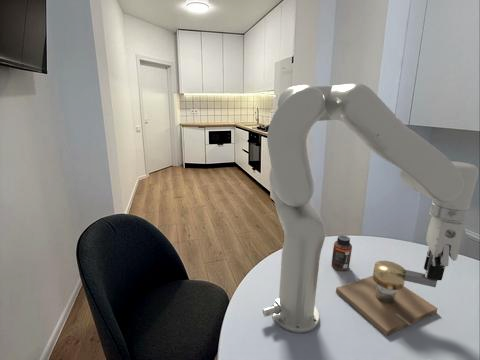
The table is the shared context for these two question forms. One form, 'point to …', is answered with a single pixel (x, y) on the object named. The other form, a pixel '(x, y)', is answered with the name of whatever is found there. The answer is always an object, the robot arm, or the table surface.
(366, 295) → the walnut base
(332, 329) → the table surface
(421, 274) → the brass hub lever
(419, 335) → the table surface
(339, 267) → the supplement bottle
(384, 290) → the steel post
